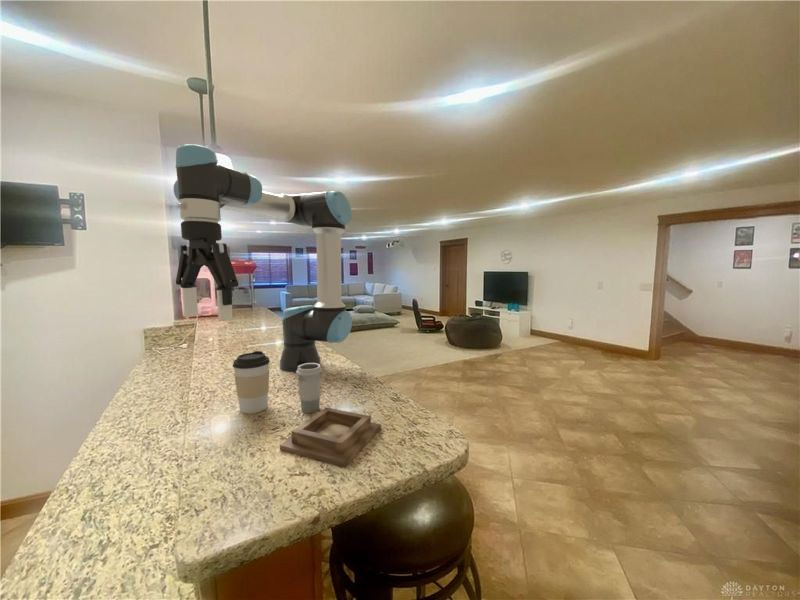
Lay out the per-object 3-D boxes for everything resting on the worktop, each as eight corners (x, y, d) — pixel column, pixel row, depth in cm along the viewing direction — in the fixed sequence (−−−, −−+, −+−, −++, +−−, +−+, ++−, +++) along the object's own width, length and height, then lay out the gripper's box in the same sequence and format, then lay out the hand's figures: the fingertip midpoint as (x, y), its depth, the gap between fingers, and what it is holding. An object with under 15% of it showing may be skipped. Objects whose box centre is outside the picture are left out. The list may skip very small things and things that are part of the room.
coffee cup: (258, 416, 82) (255, 360, 81) (227, 413, 84) (224, 358, 82) (278, 402, 91) (276, 350, 89) (250, 399, 93) (247, 349, 91)
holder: (324, 416, 82) (324, 403, 82) (380, 428, 76) (380, 414, 76) (279, 449, 68) (279, 433, 67) (344, 467, 62) (344, 450, 61)
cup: (297, 405, 89) (295, 363, 87) (322, 402, 91) (320, 361, 90) (297, 417, 82) (296, 371, 81) (324, 413, 84) (323, 369, 83)
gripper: (153, 223, 73) (161, 315, 75) (217, 215, 61) (224, 325, 63) (188, 227, 79) (194, 311, 82) (253, 219, 67) (258, 319, 69)
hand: (207, 317), depth 72 cm, fingers open, 13 cm apart
